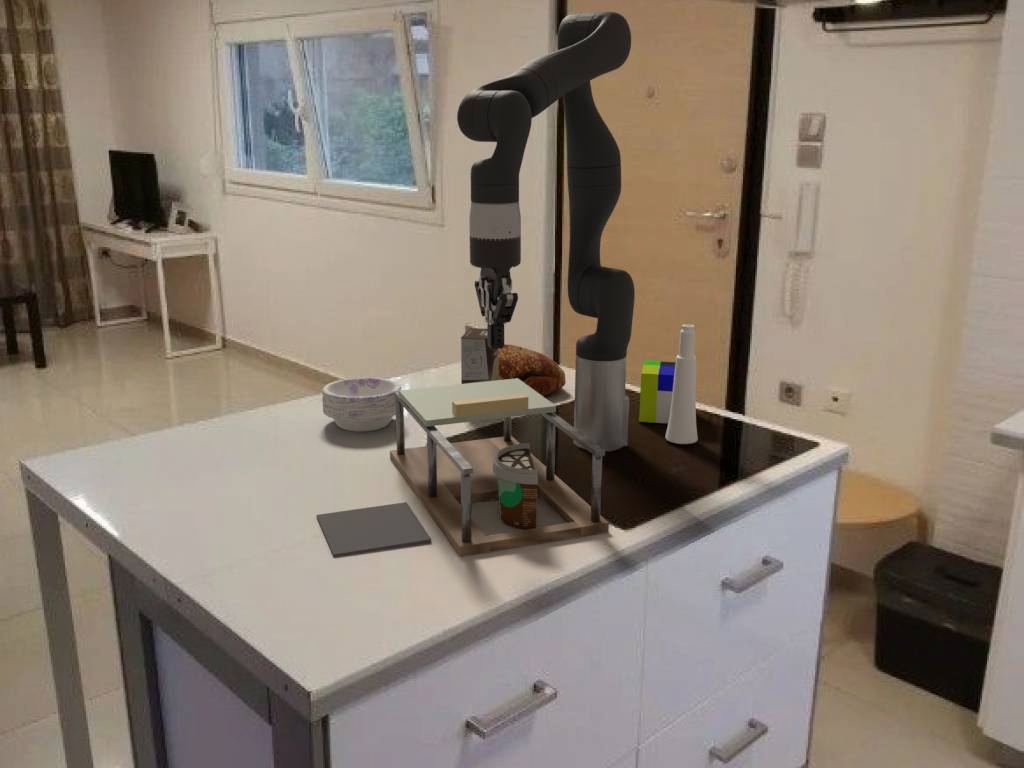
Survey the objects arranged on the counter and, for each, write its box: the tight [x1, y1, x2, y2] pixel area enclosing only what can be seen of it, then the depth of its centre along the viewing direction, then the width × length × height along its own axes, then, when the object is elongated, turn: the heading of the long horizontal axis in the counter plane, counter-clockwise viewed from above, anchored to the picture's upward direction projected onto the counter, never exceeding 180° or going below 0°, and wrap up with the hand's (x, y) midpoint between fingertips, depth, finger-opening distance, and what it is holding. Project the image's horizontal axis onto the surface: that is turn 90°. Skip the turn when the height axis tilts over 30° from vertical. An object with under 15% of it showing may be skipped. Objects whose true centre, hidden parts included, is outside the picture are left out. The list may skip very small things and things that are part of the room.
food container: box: [493, 442, 538, 531], centre depth 142 cm, size 12×6×10 cm, turn 5°
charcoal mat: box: [316, 501, 432, 558], centre depth 139 cm, size 14×14×1 cm
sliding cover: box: [399, 378, 557, 427], centre depth 155 cm, size 22×17×3 cm
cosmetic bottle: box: [664, 323, 699, 445], centre depth 175 cm, size 6×6×22 cm
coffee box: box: [460, 328, 498, 384], centre depth 193 cm, size 9×6×16 cm
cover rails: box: [394, 391, 606, 543], centre depth 151 cm, size 21×39×11 cm, turn 21°
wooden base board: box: [389, 435, 610, 558], centre depth 153 cm, size 23×40×2 cm, turn 21°
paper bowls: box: [321, 377, 402, 433], centre depth 184 cm, size 15×15×8 cm
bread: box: [498, 343, 567, 397], centre depth 209 cm, size 20×18×10 cm
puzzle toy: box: [638, 360, 676, 425], centre depth 190 cm, size 10×10×10 cm
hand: (495, 347), depth 143 cm, fingers closed
